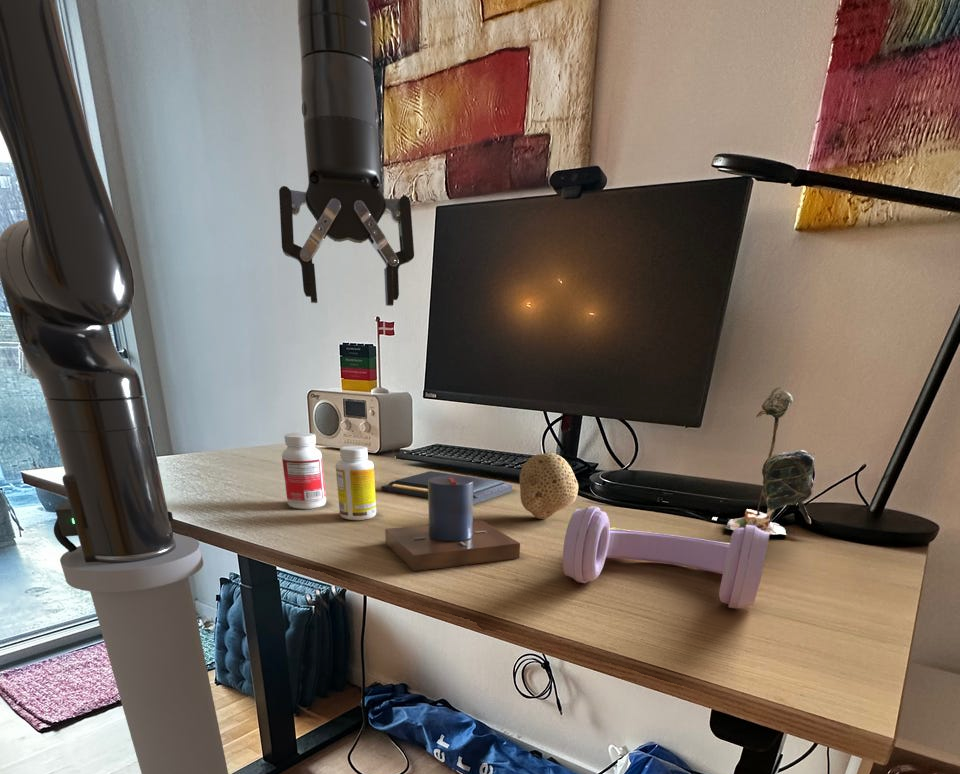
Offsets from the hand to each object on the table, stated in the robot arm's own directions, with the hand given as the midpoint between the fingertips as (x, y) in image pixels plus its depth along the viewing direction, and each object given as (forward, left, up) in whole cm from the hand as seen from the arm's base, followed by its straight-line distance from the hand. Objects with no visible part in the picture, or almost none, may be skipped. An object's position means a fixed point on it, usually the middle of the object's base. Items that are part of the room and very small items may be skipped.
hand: (352, 304), depth 69 cm
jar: (+9, -8, -26) cm, 29 cm away
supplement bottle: (+2, +13, -28) cm, 31 cm away
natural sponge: (+29, +2, -28) cm, 41 cm away
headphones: (+29, -26, -28) cm, 48 cm away
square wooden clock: (+9, -8, -28) cm, 31 cm away
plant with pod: (+56, -16, -28) cm, 65 cm away
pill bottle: (-4, +23, -28) cm, 37 cm away
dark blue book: (+22, +26, -28) cm, 44 cm away
